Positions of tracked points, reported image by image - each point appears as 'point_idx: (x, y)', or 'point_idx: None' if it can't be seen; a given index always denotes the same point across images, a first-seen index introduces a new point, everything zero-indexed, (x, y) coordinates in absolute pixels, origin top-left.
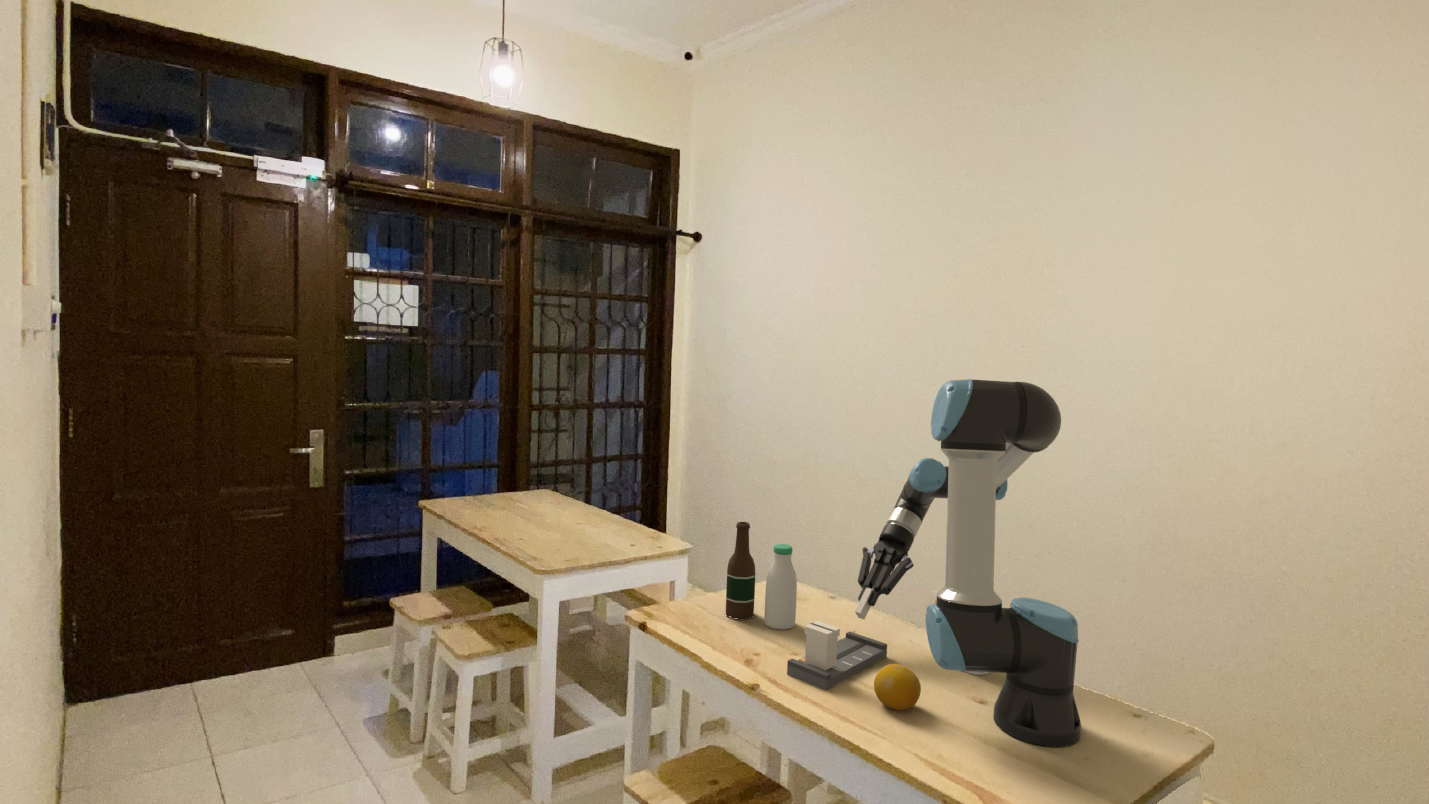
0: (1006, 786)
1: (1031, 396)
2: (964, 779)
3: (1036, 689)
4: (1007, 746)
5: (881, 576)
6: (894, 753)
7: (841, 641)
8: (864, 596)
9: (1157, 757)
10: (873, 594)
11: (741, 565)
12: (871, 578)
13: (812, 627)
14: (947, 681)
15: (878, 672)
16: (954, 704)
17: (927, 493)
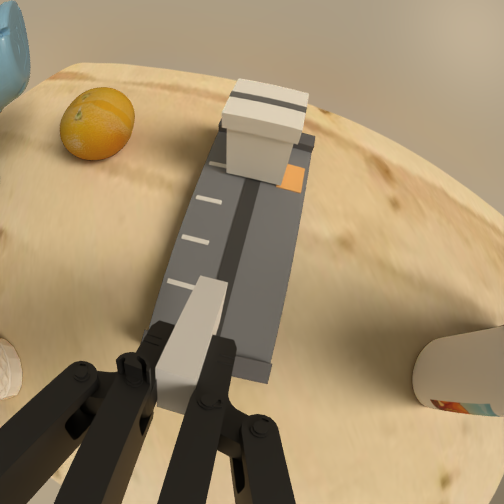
0: (31, 92)
1: None
2: (60, 78)
3: None
4: (6, 145)
5: (94, 448)
6: (114, 70)
7: (269, 326)
8: (196, 334)
9: None
10: (149, 356)
11: None
12: (175, 447)
13: (289, 92)
14: (30, 283)
15: (122, 98)
16: (29, 202)
17: None
